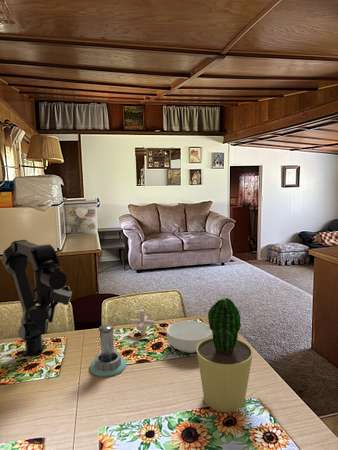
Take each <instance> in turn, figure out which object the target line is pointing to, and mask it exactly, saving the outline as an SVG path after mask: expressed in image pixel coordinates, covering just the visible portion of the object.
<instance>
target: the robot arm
mask: <svg viewBox="0 0 338 450" xmlns="http://www.w3.org/2000/svg"><path fill="white" fill-rule="evenodd" d="M60 260H61V259H60V258H59V256H58V254H57V252H56V249H55V248H54V247H53V246H52V245H51V244H37V243H33V242H30V241H28V240H27V239H21V240H19V239H18V240H13V241H12V242H11V243H10V245H9V246H8V247H7V248H6V249H5V250H4V251H3V252H2V255H1V263H2V265H3V266H4V268H5V271H6V272H7V273H9V274H10V275H11V276H12V278H13V281H14V285H15V289H16V291H17V295H18V299H19V303H20V306H21V309H22V316H21V319H20V323H21V324H20V326H19V329H18V330H17V331H18V338H20V339H21V340H22V341H23V342H24V343H25V350H24V351H23V352H22V356H37V355H42V354H43V352H44V350H45V348H46V344H43V336H42V335H46V334H48V327H49V326H48V325H49V323H53V322H54V315H55V311H56V310H55V309H56V306H57V305H58V304H62V305H64V306H68V305H69V304H70V301H71V298H72V295H73V291H72V290H71V287H70V286H69V285H66V284H67V276H66V274H65V273H64V272H63V271H61V270H60V269H61V268H60V266H61V263H60ZM29 262H30V264H31V265H32V266H31V268H32V269H33V278H34V279H33V280H34V287H33V289H32V287H31V284H30V281H29V277H28V274H27V266H29V265H28V264H29ZM32 290H33V291H32ZM33 292H34V293H35V297H34V294H33Z"/></svg>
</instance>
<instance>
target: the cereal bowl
mask: <svg viewBox="0 0 338 450" xmlns="http://www.w3.org/2000/svg"><path fill="white" fill-rule="evenodd" d="M206 324H207V323H206ZM206 324H205V322H202V321H198V320H181V321H176V322H173V323H172V324H170V325H168V326H167V328H166V338H167V341H168V343H169V344H170V346H171V347H173V348H175V349H177V350H178V351H181V352H184V353H189V354H191V353H197V350H196V348H197V345H198V344H199V343H200V342H201V341H203V340H205V339H208V338H211V337H213V336H212V335H213V333H211V332H212V330H211V329H210V328H209V324H207V325H206Z"/></svg>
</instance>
